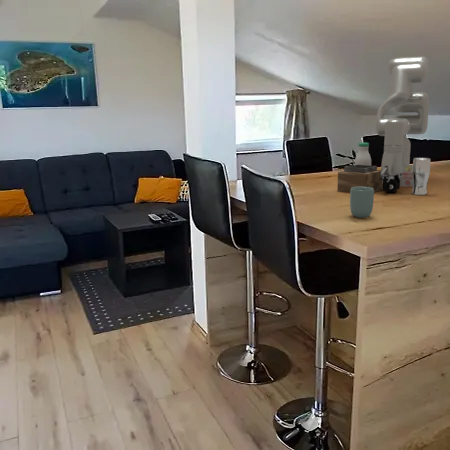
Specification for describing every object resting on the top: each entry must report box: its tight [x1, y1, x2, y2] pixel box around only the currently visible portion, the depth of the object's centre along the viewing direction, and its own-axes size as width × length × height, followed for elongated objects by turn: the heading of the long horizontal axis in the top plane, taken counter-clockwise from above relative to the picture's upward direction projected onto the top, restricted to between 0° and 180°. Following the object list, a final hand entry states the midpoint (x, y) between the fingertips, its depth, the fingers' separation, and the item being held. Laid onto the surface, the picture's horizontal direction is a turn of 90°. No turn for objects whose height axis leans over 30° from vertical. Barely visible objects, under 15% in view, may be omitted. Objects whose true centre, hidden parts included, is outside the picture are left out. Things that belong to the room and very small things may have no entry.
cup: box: [349, 187, 375, 219], centre depth 167 cm, size 8×8×10 cm
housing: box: [337, 164, 383, 193], centre depth 215 cm, size 14×14×11 cm
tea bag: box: [400, 164, 413, 188], centre depth 222 cm, size 4×7×10 cm, turn 70°
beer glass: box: [411, 157, 431, 196], centre depth 203 cm, size 7×7×15 cm
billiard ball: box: [388, 179, 399, 194], centre depth 209 cm, size 6×6×6 cm
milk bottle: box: [354, 142, 372, 166], centre depth 228 cm, size 8×8×20 cm
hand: (390, 189), depth 209 cm, fingers open, 7 cm apart
